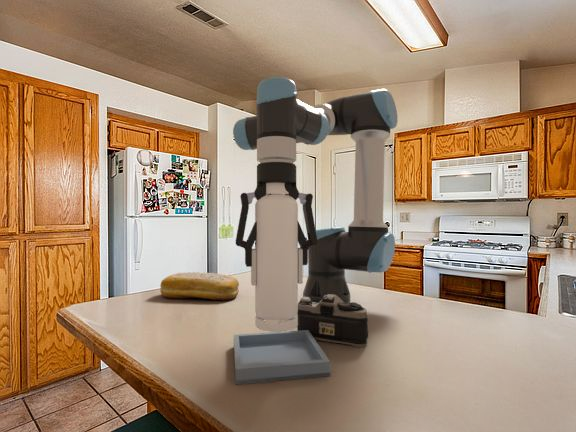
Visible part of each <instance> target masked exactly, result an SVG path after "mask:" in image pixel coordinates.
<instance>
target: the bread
mask: <svg viewBox="0 0 576 432" xmlns="http://www.w3.org/2000/svg"><path fill="white" fill-rule="evenodd" d="M239 283H240V282H239V280H238V279H237V278H235V277H234V276H229V275H225V274H220V273H216V272H199V271H198V272H197V271H196V272H194V271H193V272H177V273H173V274H171V275H168V276H166V277H165V278H164V279H162V280H161V282H160V289H159V290H160V293H161V295H162V296H163V297H165V298H168V299H191V298H196V299H197V298H199V299H206V300H213V301H230V300H232V299H234V298H236V297H237V296H238V295H239V286H240V284H239Z"/></svg>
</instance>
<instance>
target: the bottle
mask: <svg viewBox="0 0 576 432" xmlns="http://www.w3.org/2000/svg"><path fill="white" fill-rule="evenodd" d="M284 184H285V183H266V195H265V196H264V197H262V198H261V199H259V200H257V199H256V201H255V204H254V208H255V209H254V211H255V212H254V215H255V216H254V217H255V218H254V220H255V221H254V223H255V222H256V221H257V237H256V240H255V242H254V249H256V285H254V286H255V287H254V291H255V293H254V296H255V298H254V299H255V301H254V302H255V303H254V304H255V305H254V308H255V309H254V310H255V316H254V317H255V319H254V323H255V324H254V326H255V327H256V328H257V329H258V330H261V331H264V332H284V331H293V330H294V329H296V328H297V326H298V315H297V313H298V303H299V298H298V297H299V292H298V291H299V287H298V286H299V284H298V248H299V243H298V222H299V218H298V217H299V215H298V214H299V209H298V208H299V204H298V202H297V200H295V199H294V198H293V197H291V196H289V195H288V196H287V195H285V194H289V192H287V191H286V189H285V186H284ZM270 193H271V194H272V195H269V194H270ZM267 194H268V195H269V196H268V195H267Z"/></svg>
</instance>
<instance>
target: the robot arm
mask: <svg viewBox="0 0 576 432" xmlns="http://www.w3.org/2000/svg"><path fill="white" fill-rule="evenodd" d="M256 88H257V89H256V90H257V91H256V102H255V105H256V115H253V116H247V117H244V118H241V119H238V120H237V121H236V122H235V123H234V125H233V129H232V135H233V138H234V139H233V141H234V142H235V144H236V145H237V147H238V148H240V149H241V150H243V151H255V150H256V161H257V162H259V163H258V164H257V165H256V188H255V189H254V191H253V192H242V193H241V194H240V195H239V197H240V204H241V209H240V215H239V220H238V224H237V231H236V235H235V236H236V237H235V245H236V246H237V247H241V248H242V249H244V264H245V266H246V267H247V268H249V267H250V285H251V286H255V285H256V249H255V248H253V247H254V245H255V240H256V237H257V221H256V222H255V221H254V224H253V225H252V228H251V230H250V232H249V235H248V236H247V239H246V240H244V236H245V231H246V226H247V219H248V214H249V207H250V205H251V204H252V203H253V200H254V199H256V201H257V200H259V199H261V198H262V197H264V196H265V195H266V183H285V184H284V186H285V189H286V191H287V192H289V194H285V195H287V196H288V195H289V196H291V197H293V198H294V199H295V200H296V201H297V200H298V199H299V203H300V204H301V205H302V212H303V218H304V222H305V223H304V224H305V230H306V235H307V237H306V236H305V234H304V231H303V229H302V226H301V224H300V223H299V221H298V246H299V247H298V285H301V284H302V285H303V283H304V282H303V279H304V277H303V273H304V271H303V270H304V269H303V267H304V266H307V265H308V266H307V268H308V273H307V274H308V275H307V279H306V282H305V285H304V289H303V291H302V297H304V296H305V297H309V298H310V299H311V301H312V302H316V303H319V302H320V301H321V300H322V299H323V297H324V296H325V295H328V294H333V295H337V296H338V297H339V298H340V299H341V300H342V301H343V302H346V303H351V291H350V289H349V286H348V283H347V282H348V281H347V279H346V276H345V274H346V272H345V271H346V270H347V271H356V272H367V273H369V274H370V273H384V272H386V271H387V270H388V269H389V268H390V266H391V265H392V261H393V259H394V256H395V251H396V241H395V236H394V234H393V233H391V232H389V226H388V225H387V224H386V223H385V222H384V195H385V193H384V192H385V191H384V188H385V187H384V186H385V148H386V147H385V145H386V143H385V142H386V141H387V140H388V139H390V136H391V130H393V129H395V128H396V127H397V125H398V121H399V120H398V119H399V118H398V110H397V105H396V103H395V100H394V97H393V96H392V94H391V92H390V91H389V90H388V89H386V88H381V89H375V90H374V89H371V91H365V92H361V93H356V94H351V95H347V96H343V97H338V98H336V99H333V100H329V101H327V102H323V103H319V104H316V105H314V106H311V105H308V104H307V103H305V102H302V101H301V100H300V99H298V98H297V96H298V91H297V86H296V84H295V82H294V81H293V80H292V79H290V78H287V77H284V76H275V77H274V76H272V77H268V78H265V79H262V80H261V81H260V82H259V83H258V86H257V87H256ZM347 135H350V138H351V139H352V140H353V142H355V153H354V155H355V156H354V157H355V158H354V160H355V161H354V194H353V197H354V198H353V219H352V222H351V223H350V224H349V225H348V227H347V231H346V229H345V227H344V226H339V227H331V228H321V229H316V225H315V220H314V212H313V207H312V204H313V198H314V195H313V194H312V193H302V192H300V191H299V189H298V187H297V165H296V164H295V162H297V144H301V143H303V144H304V145H306V146H307V145H308V146H310V145H311V146H317V145H319V144H321V143H322V142H324V141H325V140H326V138H327V136H347ZM267 195H268V194H267ZM269 195H272V194H271V193H270V194H269ZM269 195H268V196H269ZM306 238H307V239H306Z"/></svg>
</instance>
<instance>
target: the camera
mask: <svg viewBox="0 0 576 432" xmlns="http://www.w3.org/2000/svg"><path fill="white" fill-rule="evenodd" d="M297 315H298V326H297V327H296V328H297V330H296V331H299V330H309V332H310V333H311V335H312V336H313V338H314V339H315V340H316V341H320V342H328V343H334V344H335V343H338V344H343V345H349V346H353V347H356V348H363V347H367V345H368V339H369V329H368V312H367V309H366V308H365V307H363V306H362V305H361V304H359V303H357V302H356V301H355V302H354V301H352V302H351V301H350V302H349V303H346V302H343V301H342V300H341V299H340V298H339V297H338V296H337V295H333V294H328V295H325V296H324V297H323V299H322V300H321V301H320V302H319V303H316V302H312V301H311V299H310V298H309V297H305V296H304V297H303V296H302V297H301V298H300V300H299V301H298V313H297Z"/></svg>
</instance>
